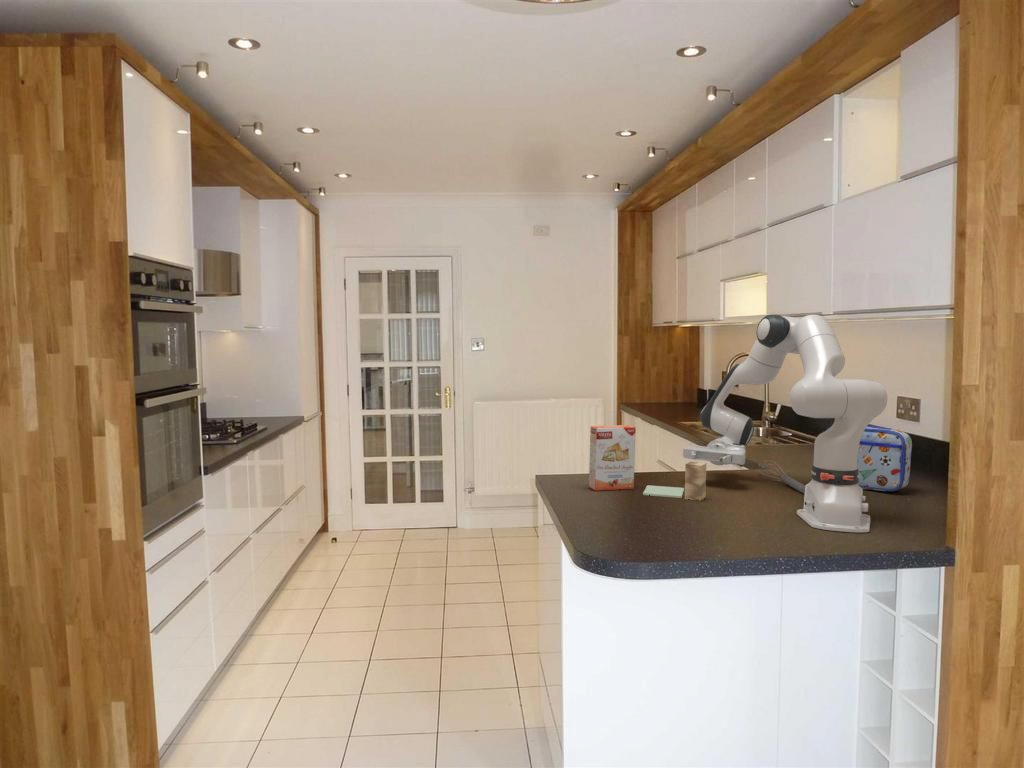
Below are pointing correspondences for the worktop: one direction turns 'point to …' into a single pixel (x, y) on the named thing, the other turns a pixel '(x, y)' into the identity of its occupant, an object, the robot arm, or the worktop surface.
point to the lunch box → (884, 459)
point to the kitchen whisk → (787, 480)
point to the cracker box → (612, 457)
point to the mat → (663, 491)
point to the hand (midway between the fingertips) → (707, 458)
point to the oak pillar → (695, 481)
